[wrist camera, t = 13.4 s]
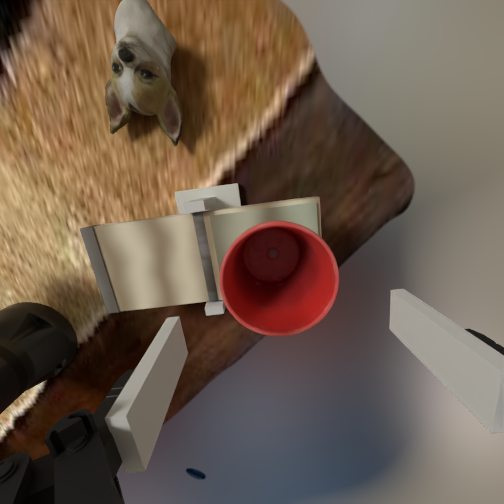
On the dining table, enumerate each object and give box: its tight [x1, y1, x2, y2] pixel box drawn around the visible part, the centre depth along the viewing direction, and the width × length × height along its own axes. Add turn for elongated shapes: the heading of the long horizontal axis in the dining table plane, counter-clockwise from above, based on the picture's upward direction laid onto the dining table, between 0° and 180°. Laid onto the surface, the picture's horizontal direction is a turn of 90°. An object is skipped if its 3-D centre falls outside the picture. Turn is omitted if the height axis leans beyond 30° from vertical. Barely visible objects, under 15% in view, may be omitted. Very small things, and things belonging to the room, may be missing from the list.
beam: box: [80, 196, 322, 313], centre depth 32 cm, size 30×12×3 cm, turn 97°
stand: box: [174, 183, 241, 316], centre depth 35 cm, size 20×18×11 cm
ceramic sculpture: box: [105, 0, 183, 146], centre depth 30 cm, size 11×9×15 cm
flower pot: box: [219, 221, 339, 336], centre depth 25 cm, size 11×11×10 cm
